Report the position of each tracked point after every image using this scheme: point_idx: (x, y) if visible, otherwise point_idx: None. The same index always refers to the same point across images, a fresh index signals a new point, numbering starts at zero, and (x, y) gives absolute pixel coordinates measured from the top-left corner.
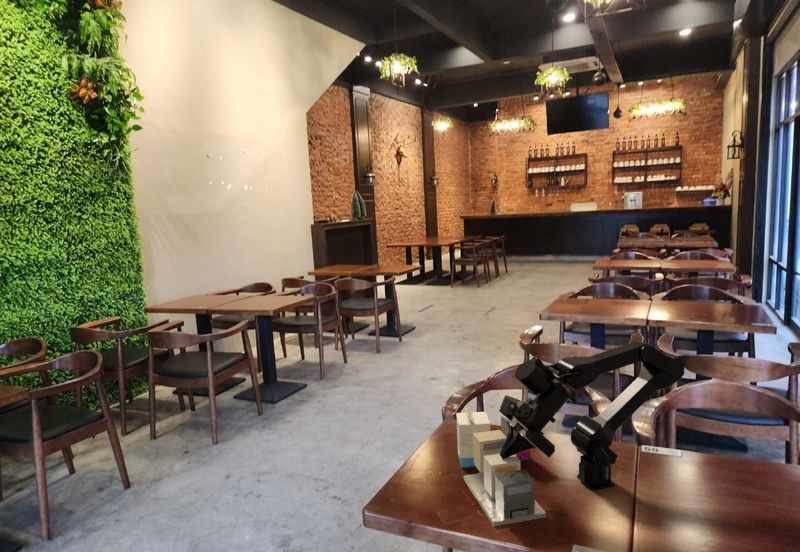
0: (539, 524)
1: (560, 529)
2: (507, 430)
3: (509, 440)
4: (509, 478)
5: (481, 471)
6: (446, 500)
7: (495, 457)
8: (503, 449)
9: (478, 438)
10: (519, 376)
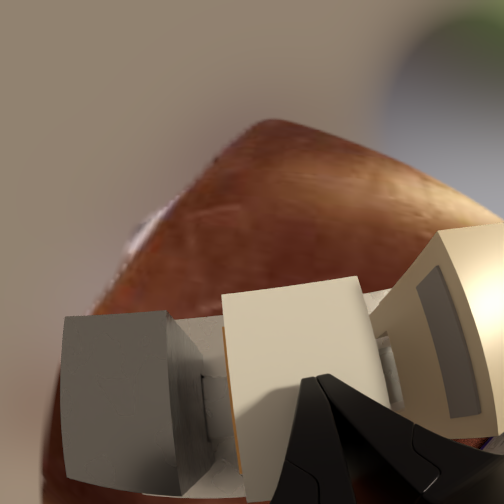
0: None
1: (92, 491)
2: None
3: (385, 470)
4: (103, 371)
5: (371, 318)
6: (290, 230)
7: (329, 347)
8: (335, 400)
9: (473, 234)
10: None
